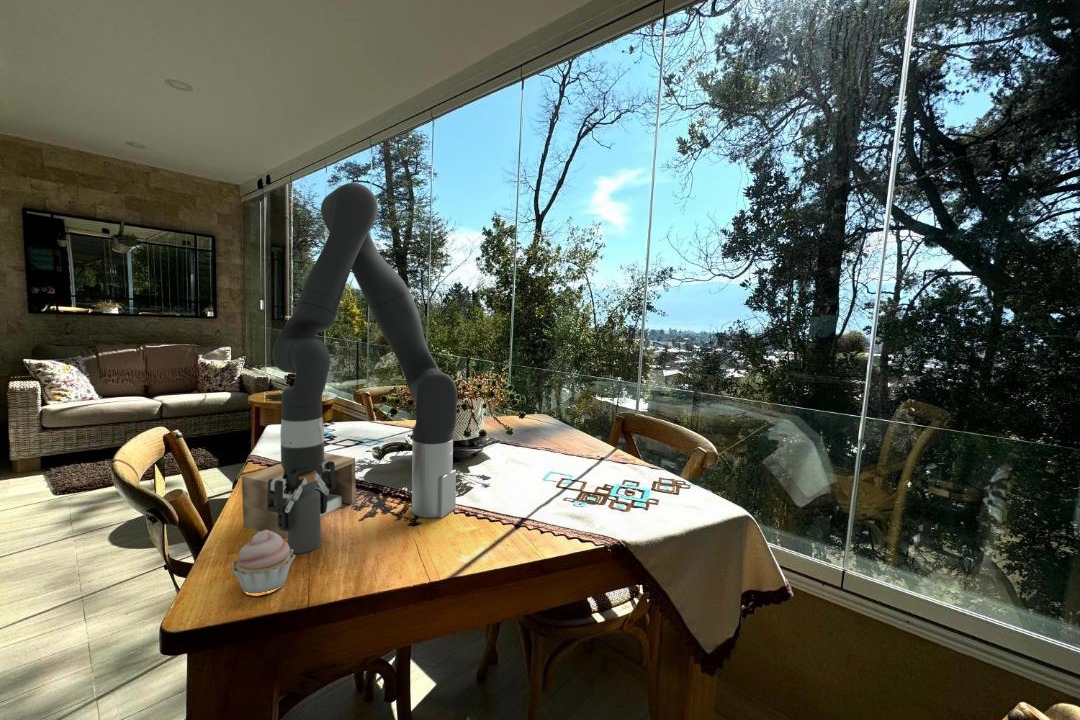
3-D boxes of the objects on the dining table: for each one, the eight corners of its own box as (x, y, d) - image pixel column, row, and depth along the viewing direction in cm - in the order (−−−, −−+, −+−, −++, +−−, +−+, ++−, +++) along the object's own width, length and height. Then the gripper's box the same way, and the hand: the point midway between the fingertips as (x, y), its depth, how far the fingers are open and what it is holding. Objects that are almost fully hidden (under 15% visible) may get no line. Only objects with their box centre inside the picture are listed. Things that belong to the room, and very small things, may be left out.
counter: (355, 502, 117) (355, 458, 116) (286, 537, 98) (284, 485, 97) (317, 494, 121) (316, 451, 120) (243, 526, 103) (241, 476, 101)
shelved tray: (341, 505, 115) (341, 482, 114) (292, 530, 102) (292, 503, 101) (315, 500, 118) (315, 477, 117) (264, 523, 104) (263, 497, 104)
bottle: (312, 554, 92) (310, 478, 91) (281, 553, 93) (280, 477, 91) (326, 539, 98) (325, 468, 97) (297, 538, 98) (296, 467, 97)
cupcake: (269, 607, 76) (268, 546, 75) (218, 599, 78) (215, 539, 77) (308, 575, 85) (307, 521, 84) (261, 568, 87) (259, 515, 86)
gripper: (286, 453, 85) (287, 540, 87) (345, 434, 98) (345, 510, 100) (255, 447, 88) (257, 532, 90) (316, 430, 101) (317, 504, 103)
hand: (304, 521), depth 95 cm, fingers open, 8 cm apart
